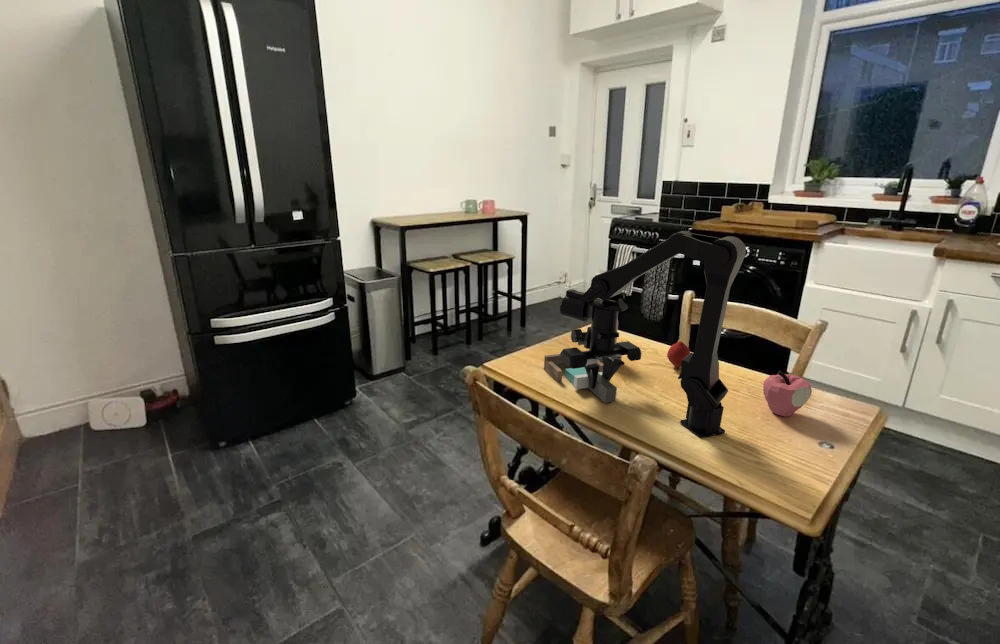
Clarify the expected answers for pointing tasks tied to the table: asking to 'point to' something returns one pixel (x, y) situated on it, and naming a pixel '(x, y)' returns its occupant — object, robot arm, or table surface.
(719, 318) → the robot arm
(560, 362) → the tile bay
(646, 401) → the table surface
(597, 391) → the pusher
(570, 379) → the tile
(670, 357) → the onion
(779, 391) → the apple
